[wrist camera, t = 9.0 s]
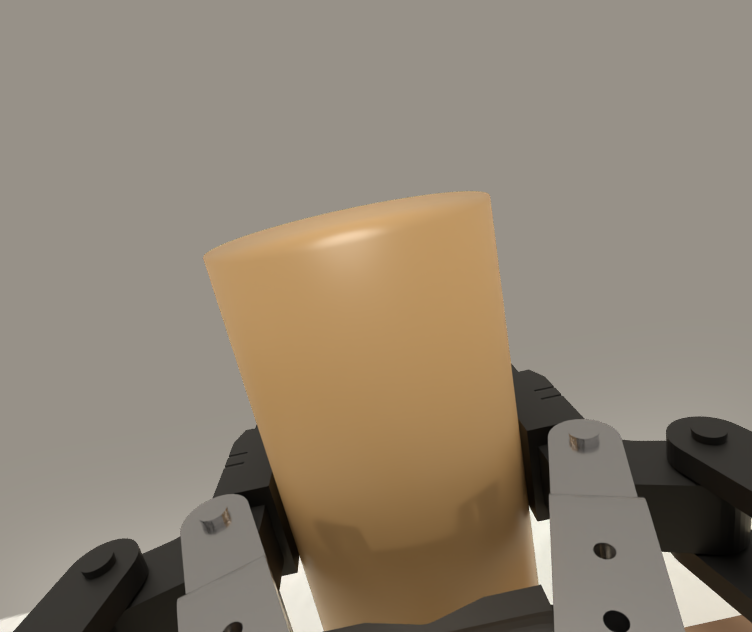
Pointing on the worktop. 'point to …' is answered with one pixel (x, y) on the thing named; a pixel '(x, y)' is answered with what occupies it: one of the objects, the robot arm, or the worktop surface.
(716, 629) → the pad
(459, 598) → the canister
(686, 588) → the worktop surface
